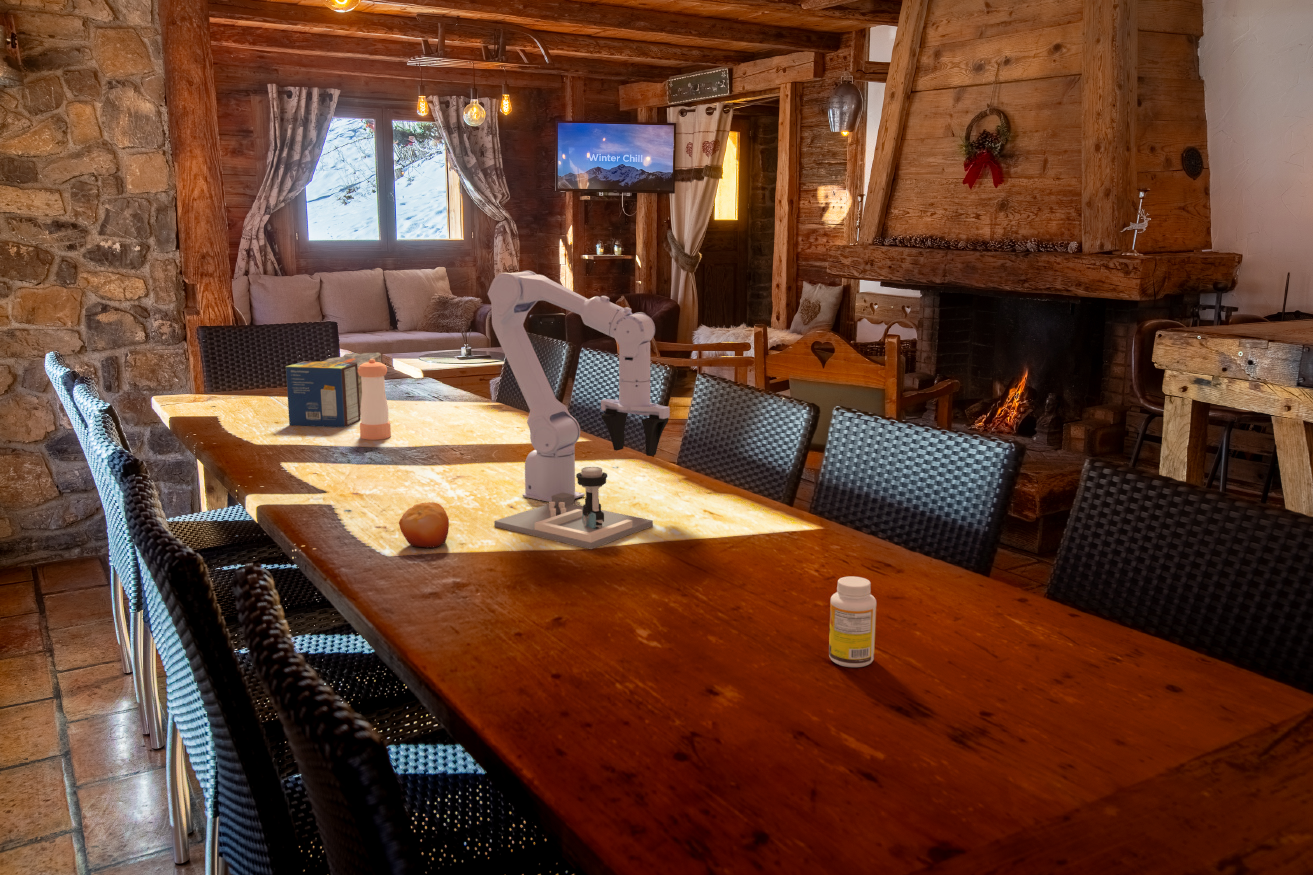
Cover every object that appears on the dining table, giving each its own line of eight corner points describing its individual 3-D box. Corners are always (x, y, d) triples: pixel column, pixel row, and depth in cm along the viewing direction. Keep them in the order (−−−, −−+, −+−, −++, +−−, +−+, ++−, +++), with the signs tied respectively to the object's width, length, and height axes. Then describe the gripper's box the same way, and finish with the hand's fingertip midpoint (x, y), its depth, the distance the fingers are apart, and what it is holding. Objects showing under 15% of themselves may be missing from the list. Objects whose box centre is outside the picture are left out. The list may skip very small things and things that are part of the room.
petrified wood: (303, 410, 302) (299, 356, 299) (331, 400, 319) (328, 349, 316) (366, 412, 299) (364, 358, 296) (391, 402, 316) (389, 350, 313)
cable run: (542, 517, 193) (542, 508, 193) (554, 500, 204) (553, 492, 204) (565, 517, 193) (565, 508, 192) (575, 501, 204) (575, 492, 203)
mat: (494, 526, 191) (494, 520, 190) (558, 506, 204) (558, 500, 204) (591, 549, 178) (591, 543, 178) (652, 525, 191) (652, 520, 191)
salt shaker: (397, 436, 268) (393, 358, 264) (375, 441, 262) (371, 362, 258) (376, 432, 271) (372, 356, 268) (354, 437, 265) (349, 359, 262)
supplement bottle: (843, 647, 138) (846, 570, 136) (882, 659, 134) (886, 580, 132) (819, 660, 134) (822, 581, 132) (859, 673, 130) (863, 592, 128)
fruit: (464, 529, 184) (451, 495, 179) (445, 564, 178) (430, 530, 173) (422, 524, 186) (408, 491, 181) (402, 558, 181) (386, 525, 176)
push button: (616, 529, 186) (615, 472, 184) (587, 533, 183) (586, 475, 181) (599, 519, 191) (599, 464, 189) (572, 523, 189) (571, 467, 187)
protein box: (306, 418, 290) (302, 360, 287) (361, 420, 288) (358, 362, 285) (288, 425, 280) (284, 366, 277) (344, 427, 278) (341, 367, 275)
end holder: (534, 529, 185) (534, 522, 185) (577, 515, 194) (577, 508, 194) (590, 542, 178) (590, 535, 178) (632, 527, 187) (632, 520, 187)
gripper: (590, 378, 200) (590, 450, 203) (653, 386, 192) (653, 461, 195) (614, 374, 206) (614, 444, 209) (676, 381, 197) (676, 454, 200)
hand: (634, 452), depth 202 cm, fingers open, 7 cm apart
